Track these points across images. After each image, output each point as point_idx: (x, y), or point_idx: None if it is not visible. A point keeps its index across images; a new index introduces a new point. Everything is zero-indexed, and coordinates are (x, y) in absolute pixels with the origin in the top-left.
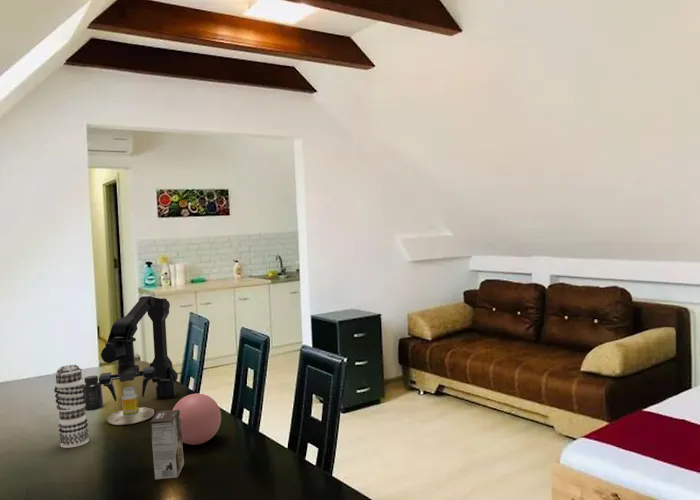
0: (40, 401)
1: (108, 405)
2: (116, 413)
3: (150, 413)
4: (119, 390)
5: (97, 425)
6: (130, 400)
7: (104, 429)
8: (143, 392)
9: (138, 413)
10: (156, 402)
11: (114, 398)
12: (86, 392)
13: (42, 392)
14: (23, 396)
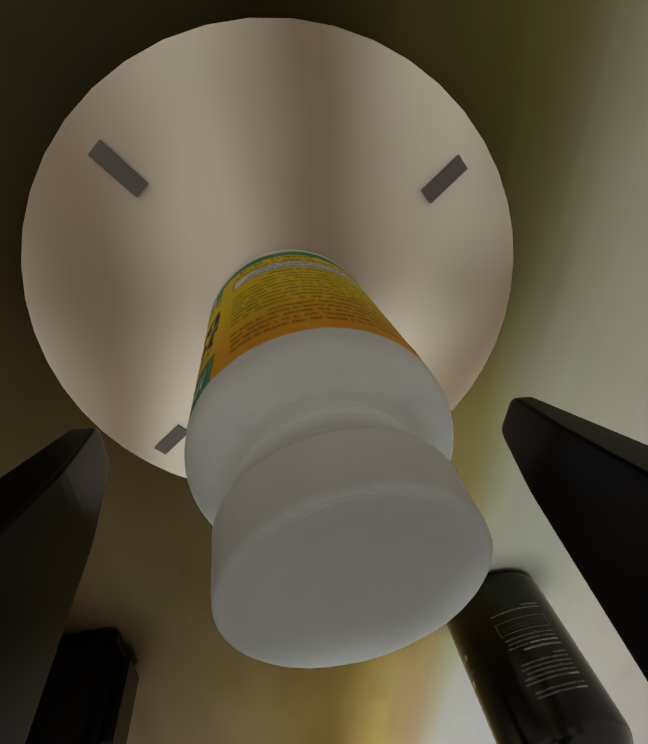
0: (625, 683)
1: None
2: None
3: (60, 259)
4: (348, 738)
5: (574, 251)
6: (306, 320)
7: (567, 55)
8: (17, 483)
9: None
10: (119, 589)
11: (570, 416)
12: (600, 690)
13: None
14: (639, 718)
